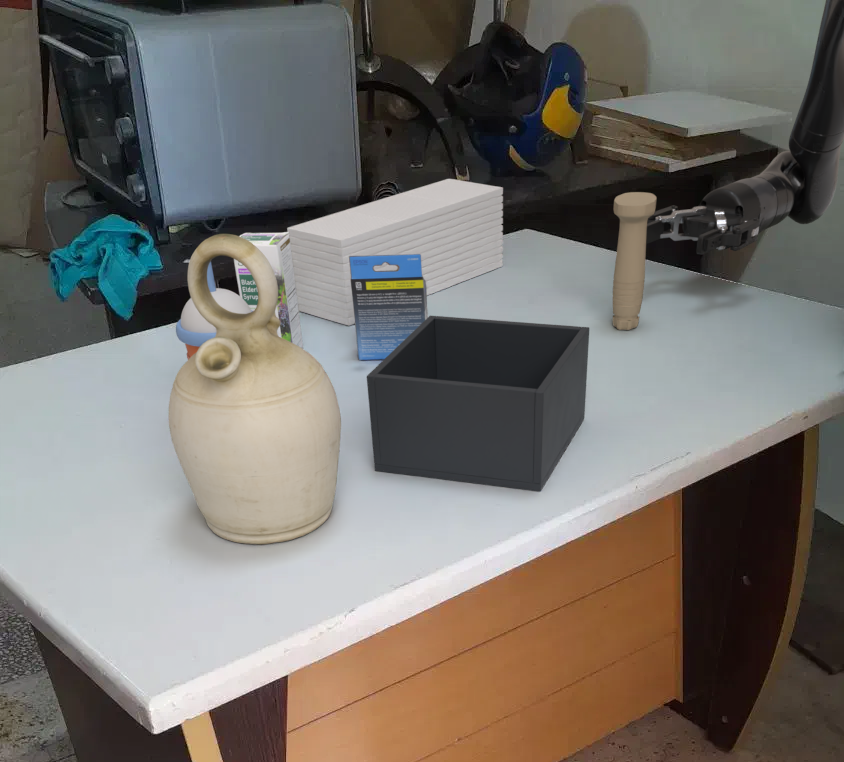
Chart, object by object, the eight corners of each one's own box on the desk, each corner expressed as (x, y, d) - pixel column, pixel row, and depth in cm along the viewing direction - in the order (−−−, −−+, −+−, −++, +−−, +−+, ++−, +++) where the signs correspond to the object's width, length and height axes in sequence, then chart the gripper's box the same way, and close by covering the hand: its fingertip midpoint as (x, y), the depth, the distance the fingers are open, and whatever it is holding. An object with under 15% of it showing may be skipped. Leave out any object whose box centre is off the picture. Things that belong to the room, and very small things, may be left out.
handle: (602, 334, 130) (610, 205, 120) (611, 317, 134) (619, 191, 124) (640, 336, 129) (651, 206, 119) (647, 319, 133) (659, 192, 123)
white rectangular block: (348, 326, 137) (340, 240, 130) (297, 310, 143) (287, 227, 136) (502, 266, 154) (502, 187, 146) (451, 255, 159) (448, 178, 152)
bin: (584, 418, 111) (589, 327, 104) (540, 491, 98) (543, 392, 92) (433, 403, 116) (429, 315, 109) (374, 470, 104) (366, 375, 97)
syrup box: (249, 368, 127) (229, 243, 118) (262, 351, 131) (244, 229, 122) (293, 369, 126) (276, 243, 117) (305, 351, 131) (290, 229, 121)
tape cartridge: (430, 348, 129) (426, 244, 121) (427, 360, 126) (422, 254, 118) (361, 350, 130) (352, 246, 122) (357, 361, 127) (347, 256, 119)
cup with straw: (179, 427, 114) (142, 257, 103) (220, 396, 121) (189, 232, 109) (249, 436, 112) (219, 262, 100) (287, 404, 118) (263, 237, 106)
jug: (285, 570, 90) (237, 271, 73) (157, 531, 96) (86, 249, 80) (381, 497, 99) (357, 218, 83) (258, 466, 106) (214, 201, 89)
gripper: (695, 175, 140) (627, 201, 132) (790, 188, 132) (723, 216, 124) (689, 234, 145) (622, 262, 137) (779, 250, 137) (715, 281, 129)
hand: (670, 240), depth 130 cm, fingers open, 8 cm apart
